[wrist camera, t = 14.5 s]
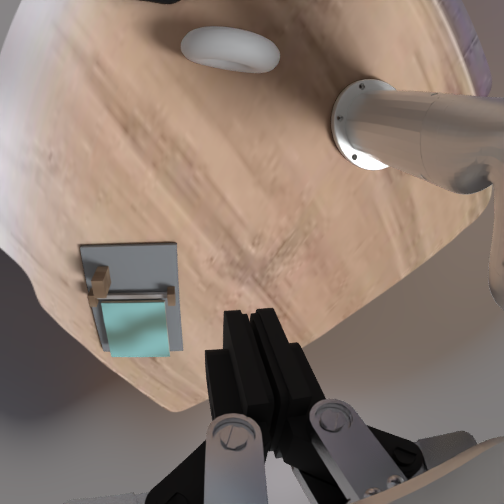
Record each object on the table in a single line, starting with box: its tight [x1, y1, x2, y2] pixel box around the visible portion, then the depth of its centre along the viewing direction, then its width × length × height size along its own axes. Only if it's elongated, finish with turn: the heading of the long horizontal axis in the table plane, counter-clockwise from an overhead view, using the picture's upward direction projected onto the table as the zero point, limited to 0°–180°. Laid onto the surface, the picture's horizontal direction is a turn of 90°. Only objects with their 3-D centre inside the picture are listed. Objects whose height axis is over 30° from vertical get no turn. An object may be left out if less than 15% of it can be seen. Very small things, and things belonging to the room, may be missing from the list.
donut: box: [181, 26, 280, 73], centre depth 27 cm, size 10×4×10 cm, turn 78°
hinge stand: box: [88, 266, 176, 307], centre depth 39 cm, size 5×12×4 cm, turn 86°
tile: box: [101, 300, 170, 357], centre depth 42 cm, size 9×9×1 cm
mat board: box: [80, 243, 183, 352], centre depth 42 cm, size 18×13×1 cm
